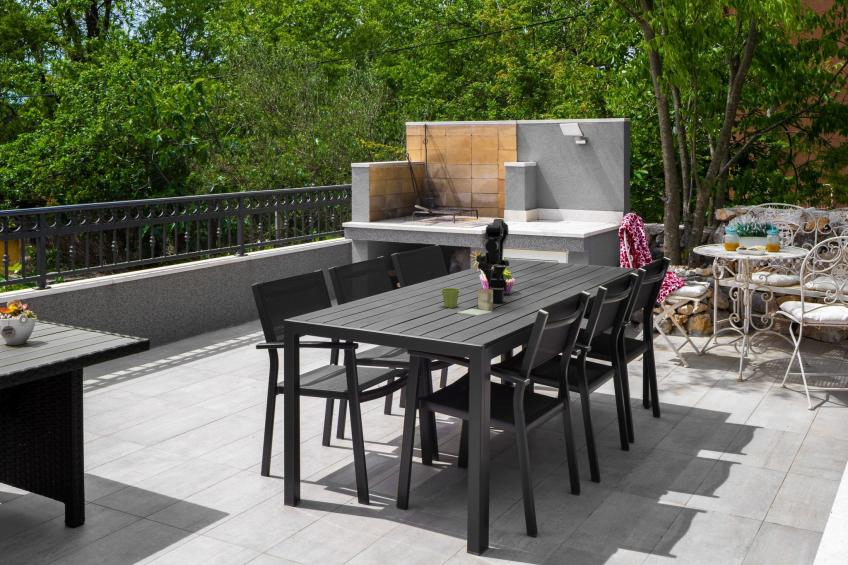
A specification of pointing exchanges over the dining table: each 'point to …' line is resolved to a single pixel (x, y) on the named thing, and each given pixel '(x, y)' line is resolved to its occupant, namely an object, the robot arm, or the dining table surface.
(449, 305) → the plant pot
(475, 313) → the sage mat
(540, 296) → the dining table surface
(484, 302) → the birch block
